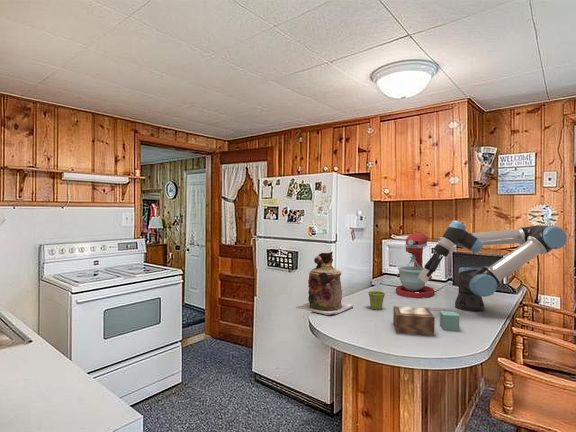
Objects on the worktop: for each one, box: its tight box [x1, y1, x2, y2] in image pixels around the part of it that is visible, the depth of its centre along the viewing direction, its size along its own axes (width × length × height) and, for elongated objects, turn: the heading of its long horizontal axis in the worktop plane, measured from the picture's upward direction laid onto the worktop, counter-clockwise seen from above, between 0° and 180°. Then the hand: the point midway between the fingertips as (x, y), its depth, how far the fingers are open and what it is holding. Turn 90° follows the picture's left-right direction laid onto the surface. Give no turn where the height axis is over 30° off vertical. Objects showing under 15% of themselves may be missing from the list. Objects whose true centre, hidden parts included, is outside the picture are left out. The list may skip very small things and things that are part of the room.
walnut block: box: [392, 305, 436, 337], centre depth 171 cm, size 16×16×8 cm
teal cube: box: [439, 310, 460, 332], centre depth 173 cm, size 7×7×7 cm
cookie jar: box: [295, 250, 355, 316], centre depth 206 cm, size 25×25×32 cm
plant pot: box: [367, 290, 386, 311], centre depth 207 cm, size 9×9×9 cm
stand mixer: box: [395, 232, 435, 299], centre depth 247 cm, size 24×32×40 cm
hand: (421, 280), depth 200 cm, fingers open, 13 cm apart
